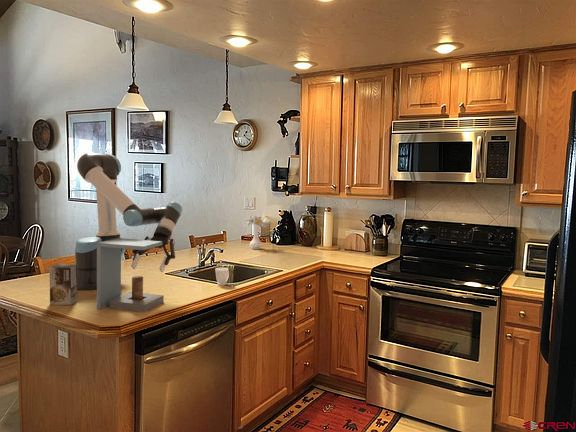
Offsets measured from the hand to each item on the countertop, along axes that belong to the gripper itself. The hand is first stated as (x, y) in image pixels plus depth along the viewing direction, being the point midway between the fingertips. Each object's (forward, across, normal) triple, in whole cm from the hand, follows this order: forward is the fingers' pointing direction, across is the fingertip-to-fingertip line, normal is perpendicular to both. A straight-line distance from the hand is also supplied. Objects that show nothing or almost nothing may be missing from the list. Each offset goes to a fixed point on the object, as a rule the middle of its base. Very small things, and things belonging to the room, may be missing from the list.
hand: (146, 269), depth 207 cm
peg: (+14, +1, -6) cm, 16 cm away
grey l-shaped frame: (+17, +2, -3) cm, 17 cm away
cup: (-20, -19, -42) cm, 50 cm away
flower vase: (-101, 0, -125) cm, 161 cm away
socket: (+15, +1, -6) cm, 16 cm away
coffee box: (+21, +30, 0) cm, 37 cm away
